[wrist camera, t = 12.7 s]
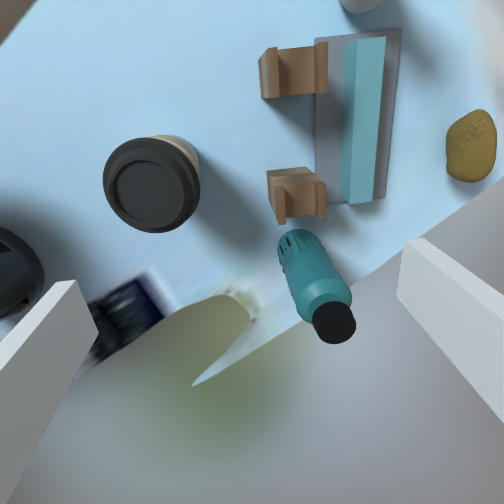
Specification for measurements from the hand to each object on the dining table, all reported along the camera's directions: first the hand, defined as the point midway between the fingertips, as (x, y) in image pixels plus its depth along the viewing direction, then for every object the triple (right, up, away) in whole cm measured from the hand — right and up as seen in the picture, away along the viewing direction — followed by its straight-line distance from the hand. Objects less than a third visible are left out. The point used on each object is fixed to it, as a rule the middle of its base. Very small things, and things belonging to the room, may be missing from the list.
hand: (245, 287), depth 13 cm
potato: (+28, +16, +30) cm, 44 cm away
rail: (+13, +18, +27) cm, 35 cm away
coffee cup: (-10, +13, +28) cm, 33 cm away
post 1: (+4, +23, +24) cm, 34 cm away
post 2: (+5, +11, +30) cm, 33 cm away
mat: (+13, +18, +28) cm, 36 cm away
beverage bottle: (+7, +3, +35) cm, 36 cm away
